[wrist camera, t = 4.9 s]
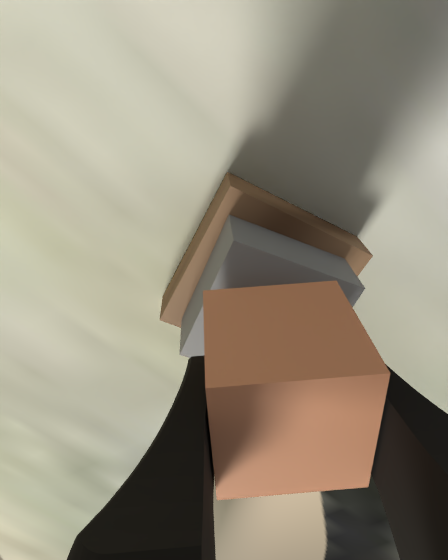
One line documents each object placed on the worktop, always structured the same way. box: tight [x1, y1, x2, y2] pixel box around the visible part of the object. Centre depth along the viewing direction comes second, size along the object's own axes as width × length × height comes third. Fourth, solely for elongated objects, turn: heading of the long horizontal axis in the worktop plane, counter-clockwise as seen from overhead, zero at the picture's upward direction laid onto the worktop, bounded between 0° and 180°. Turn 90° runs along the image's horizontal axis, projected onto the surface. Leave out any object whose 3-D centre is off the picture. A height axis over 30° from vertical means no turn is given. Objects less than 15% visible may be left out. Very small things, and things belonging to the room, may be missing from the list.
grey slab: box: [180, 215, 365, 358], centre depth 18 cm, size 6×6×2 cm
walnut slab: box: [160, 172, 373, 328], centre depth 20 cm, size 7×7×2 cm
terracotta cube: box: [203, 280, 390, 500], centre depth 13 cm, size 4×4×4 cm
